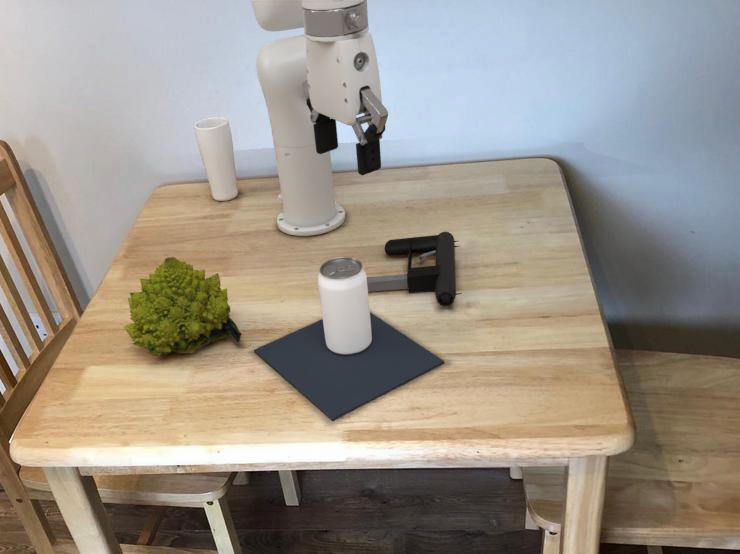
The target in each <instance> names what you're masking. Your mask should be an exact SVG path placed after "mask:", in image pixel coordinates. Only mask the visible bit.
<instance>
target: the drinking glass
mask: <svg viewBox="0 0 740 554" xmlns="http://www.w3.org/2000/svg"><path fill="white" fill-rule="evenodd" d="M230 125H231V124H230V122H229V119H228V118H227V117H223V116H214V117H208V118H203V119H201V120H199V121H196V122H195V123H194V126H193V128H194V133H195V138H196V143H197V147H198V151H199V154H200V157H201V161H202V164H203V167H204V170H205V174H206V177H207V181H208V185H209V188H210V192H211V196H212V198H213V199H214V200H215V201H218V202H227V201H230V200H233V199H235V198H237V197H238V195H239V188H238V180H237V170H236V161H235V160H236V159H235V152H234V142H233V135H232V130H231V126H230Z"/></svg>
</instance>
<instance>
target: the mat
mask: <svg viewBox="0 0 740 554" xmlns="http://www.w3.org/2000/svg"><path fill="white" fill-rule="evenodd" d="M370 321H371V333H372V341H371V344H370V345H369V346H368V347H367V348H366V349H365V350H364V351H362V352H360V353H357V354H353V355H340V354H336V353H334V352H333V351H331V350H330V349H329V348H328V347H327V345H326V340H325V333H324V326H323V318H321V319H319V320H318V321H315V322H312V323H311V324H308V325H306V326H304V327H302V328H299V329H297V330H295V331H292V332H290V333H289V334H286V335H284V336H281V337H279V338H278V339H275V340H272V341H270V342H269V343H266V344H264V345H262V346H259V347H257V348H255V349H253V352H254V353H255V354H256V355H257V356H258V357H259V358H260V359H261V360H263V361H264V362H265V363H266V364H267V365H268V366H269V367H270V368H272V370H274V371H275V372H276V373H277V374H278V375H280V376H281V377H282V378H283V379H284V380H285V381H286V382H288V383H289V384H290V385H291V386H292V387H293V388H294V389H295V390H297V391H298V392H299V393H300V394H301V395H302V396H303V397H305V398H306V399H307V400H308V402H310V403H311V404H313V406H314V407H316V408H317V409H318V410H319V411H320V412H322V413H323V415H325V417H327V418H328V419H330V421H332V422H333V421H336V420H337V419H339V418H341V417H343V416H345V415H347V414H349V413H351V412H353V411H355V410H357V409H358V408H360V407H363V406H364V405H366V404H368V403H371V402H372V401H374V400H376V399H378V398H380V397H382V396H384V395H386V394H387V393H389V392H391V391H394V390H395V389H397V388H399V387H401V386H404V385H405V384H407V383H409V382H411V381H413V380H415V379H416V378H419V377H421V376H423V375H425V374H427V373H429V372H430V371H432V370H435V369H436V368H438V367H440V366H442V365H444V364H445V360H444V359H443V358H441V357H439V356H438V355H436V354H434V353H433V352H432V351H430V350H429V349H427V348H425V347H424V346H422V345H421V344H420V343H418V342H416V341H415V340H413V339H411V337H408V336H407V335H405V334H404V333H402V332H401V331H400V330H398V329H396V328H395V327H393V326H392V325H391V324H389V323H387V322H386V321H384V320H383V319H381V318H380V317H378V316H377V315H375V314H373V313H372V312H370Z"/></svg>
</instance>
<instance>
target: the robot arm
mask: <svg viewBox="0 0 740 554" xmlns="http://www.w3.org/2000/svg"><path fill="white" fill-rule="evenodd" d="M250 1H251V2H250V3H251V6H252V9H253V10H252V11H253V14H254V17H255V20H256V22H257V24H258V26H259V27H260V28H261V29H262V30H264V31H267V32H284V31H290V30H291V31H292V30H296V29H301V28H303V31H304V34H300V35H293V36H289V37H284V38H280V39H276V40H273V41H270V42H268V43H266V44H264V45H263V46H262V47H261V49H260V50H259V51H258V53H257V55H256V59H255V68H256V74H257V79H258V81H259V85H260V88H261V92H262V96H263V98H264V102H265V106H266V109H267V114H268V120H269V125H270V129H271V137H272V142H273V149H274V155H275V162H276V169H277V175H278V181H279V183H278V184H279V189H280V193H279V194H278V196H277V198H278V200H279V201H281V202H282V208H283V209H282V210H283V211H281V212H280V213H279V215H277V218H276V224H277V228H278V230H279V231H281V232H283V233H284V234H287V235H290V236H295V237H311V236H312V237H313V236H318V235H322V234H327V233H329V232H332V231H334V230H336V229H337V228H339V227H340V226H341V225H343V223H344V222H345V221H346V210H345V209H344V207H342V206H341V205H339V204H338V203H336V197H335V186H334V178H333V177H334V176H333V169H332V167H333V166H332V159H331V152H332V151H334V150H337V149H338V148H339V141H338V139H339V138H338V129H337V122H340V123H342V124H343V125H346V126H350V127H351V129H352V131H353V132H354V134H355V137H356V139H357V141H358V142H357V143H355V152H356V164H357V173H358V174H359V175H361V176H365V175H368V174H371V173H373V172H376V171H378V170H380V169H381V168H382V156H381V140H382V139H383V134H384V132H385V131H386V124H387V121H388V117H389V111H388V109H387V108H386V106H384V104H383V99H382V89H381V79H380V71H379V64H378V57H377V52H376V48H375V44H374V38H373V35H372V32H370V31H369V29H370V28H369V27H370V26H369V14H368V0H250ZM362 114H364V115H362ZM360 115H361V116H360ZM357 116H358V117H357ZM364 124H367V125H368V126H367V128H366V129H365V130H364V128H363V126H362V125H364Z"/></svg>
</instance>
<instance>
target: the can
mask: <svg viewBox="0 0 740 554" xmlns="http://www.w3.org/2000/svg"><path fill="white" fill-rule="evenodd" d="M367 277H368V276H367V273H366V271H365V269H364V268H363V263H362V262H361V260H359V259H357V258H354V257H350V256H340V257H333V258H331V259H328V260H326V261H325V262H323V263H321V264H320V267H319V275H318V278H317V286H318V295H319V302H320V310H321V319H323V326H324V333H325V340H326V345H327V347H328V348H329V349H330V350H331V351H333V352H334V353H336V354H340V355H353V354H357V353H360V352H362V351H364V350H365V349H366V348H367V347H368V346H369V345H370V344H371V341H372V333H371V321H370V313H371V312H370V311H371V310H370V300H369V299H370V298H369V292H368V287H367Z"/></svg>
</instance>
